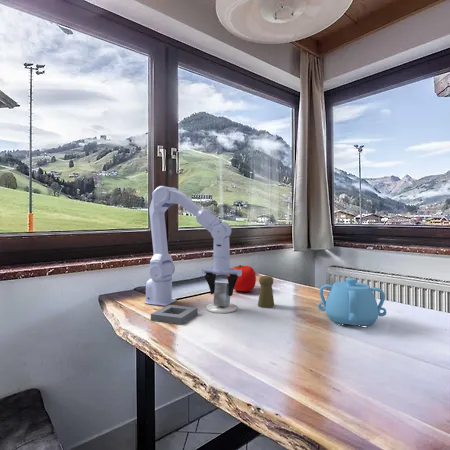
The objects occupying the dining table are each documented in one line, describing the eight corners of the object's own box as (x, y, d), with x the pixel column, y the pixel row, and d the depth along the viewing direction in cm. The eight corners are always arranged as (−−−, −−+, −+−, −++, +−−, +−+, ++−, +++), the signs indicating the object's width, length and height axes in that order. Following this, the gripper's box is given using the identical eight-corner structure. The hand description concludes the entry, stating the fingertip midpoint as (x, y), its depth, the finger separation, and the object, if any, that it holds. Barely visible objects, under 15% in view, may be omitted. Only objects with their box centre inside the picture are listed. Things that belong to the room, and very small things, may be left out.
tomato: (262, 289, 142) (262, 264, 142) (247, 296, 130) (247, 268, 130) (238, 286, 149) (238, 261, 148) (222, 292, 137) (222, 266, 137)
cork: (274, 308, 114) (274, 278, 113) (257, 307, 115) (257, 277, 115) (274, 303, 120) (274, 274, 119) (258, 303, 121) (258, 274, 121)
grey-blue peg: (213, 305, 113) (215, 282, 114) (218, 304, 117) (219, 282, 118) (225, 306, 111) (226, 283, 112) (229, 305, 115) (231, 283, 116)
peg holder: (150, 320, 102) (150, 313, 102) (169, 310, 112) (169, 304, 112) (181, 324, 98) (181, 318, 98) (197, 313, 108) (197, 307, 108)
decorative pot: (354, 311, 111) (354, 272, 110) (392, 326, 95) (392, 281, 95) (313, 316, 105) (314, 275, 105) (347, 333, 90) (347, 285, 90)
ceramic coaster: (201, 311, 111) (201, 309, 111) (213, 302, 121) (213, 301, 121) (230, 314, 107) (230, 313, 107) (241, 305, 117) (241, 304, 117)
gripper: (198, 257, 112) (198, 295, 113) (237, 259, 107) (237, 299, 108) (206, 254, 119) (206, 290, 119) (243, 256, 114) (243, 294, 114)
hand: (221, 294), depth 114 cm, fingers open, 6 cm apart
